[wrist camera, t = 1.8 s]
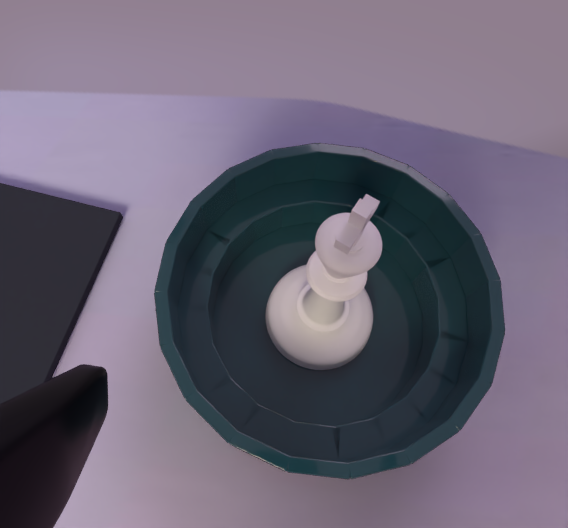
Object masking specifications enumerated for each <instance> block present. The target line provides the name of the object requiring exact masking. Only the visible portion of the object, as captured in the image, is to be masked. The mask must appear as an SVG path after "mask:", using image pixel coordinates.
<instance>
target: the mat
mask: <svg viewBox="0 0 568 528" xmlns="http://www.w3.org/2000/svg"><path fill="white" fill-rule="evenodd" d="M122 218H123V216H122V215H121V213H120V212H116V211H111V210H107V209H103V208H99V207H95V206H91V205H87V204H83V203H79V202H75V201H71V200H67V199H63V198H59V197H54V196H50V195H46V194H42V193H38V192H34V191H30V190H26V189H22V188H18V187H14V186H10V185H6V184H2V183H0V404H1V403H3V402H5V401H7V400H9V399H11V398H13V397H15V396H17V395H19V394H21V393H24V392H26V391H28V390H30V389H32V388H34V387H36V386H38V385H40V384H42V383H44V382H46V381H48V380H50V379H51V377H52V375H53V373H54V370H55V368H56V366H57V364H58V361H59V359H60V357H61V355H62V352H63V350H64V348H65V346H66V343H67V341H68V339H69V337H70V335H71V332H72V330H73V328H74V326H75V323H76V321H77V319H78V317H79V314H80V312H81V310H82V308H83V305H84V303H85V301H86V299H87V297H88V294H89V292H90V290H91V288H92V285H93V283H94V281H95V279H96V276H97V274H98V272H99V270H100V267H101V265H102V263H103V261H104V259H105V256H106V254H107V252H108V250H109V247H110V245H111V243H112V241H113V238H114V236H115V234H116V232H117V229H118V227H119V225H120V223H121V220H122Z"/></svg>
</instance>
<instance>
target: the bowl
mask: <svg viewBox="0 0 568 528" xmlns="http://www.w3.org/2000/svg"><path fill="white" fill-rule="evenodd" d="M366 194H368V195H370V196H371V197H373V198H375V199H377V200H379V201H380V203H379V205H378V207H377V209H376V211H375V212H374V214H373V215H372V217H371V218H370V220H369V221H371V222H372V223H373V224H374V225H375V227H376V228H377V229H378V231H379V233H380V235H381V239H382V252H381V256H380V258H379V260H378V261H377V263H376V264H375V265H374V266H373V267H372V268H371V269H370V270H368V271H367V281H366V284H365V287H364V288H365V290H366V292H367V294H368V296H369V298H370V301H371V304H372V309H373V325H372V330H371V333H370V336H369V339H368V341H367V343H366V345H365V347H364V348H363V350H362V351H361V352H360V353H359V354H358V355H357V356H356V357H355V358H354V359H353V360H352V361H350V362H348V363H347V364H345V365H343V366H340V367H338V368H334V369H329V370H313V369H308V368H304V367H301V366H299V365H297V364H295V363H293V362H291V361H290V360H288V359H287V358H286V357H284V356H283V355H282V354H281V353H280V352H279V351H278V349H277V348H276V347H275V345H274V344H273V342H272V340H271V338H270V336H269V333H268V330H267V326H266V318H265V314H266V306H267V302H268V299H269V296H270V294H271V292H272V291H273V289H274V287H275V285H276V284H277V283H278V281H279V280H280V279H281V278H282V277H283V276H284V275H286V274H287V273H288V272H290V271H291V270H293V269H295V268H297V267H300V266H303V265H307V263H308V260H309V258H310V257H311V255H312V254H313V253H314V252H315V251H316V248H315V237H316V233H317V231H318V229H319V227H320V225H321V224H322V223H323V222H324V221H325V220H326V219H328V218H329V217H331V216H333V215H336V214H339V213H351V211H352V209H353V208H354V206H355V205H356V203H357V202H358V200H359V199H360V198H361V199H363V198H364V196H365V195H366ZM154 296H155V306H156V315H157V324H158V334H159V343H160V346H161V350H162V352H163V354H164V357H165V359H166V361H167V363H168V365H169V367H170V369H171V371H172V373H173V375H174V378H175V380H176V382H177V384H178V386H179V388H180V390H181V392H182V394H183V397H184V398H185V399H186V401H187V402H188V403H189V404H190V405H191V406H192V407H193V408H194V409H195V410H196V411H197V412H198V413H199V414H200V415H201V416H202V417H203V418H204V419H205V420H206V422H207V423H208V424H209V425H210V426H211V427H212V428H213V429H214V430H215V431H216V432H217V433H218V434H219V435H220V436H221V437H222V438H223V439H224V440H225V441H226V442H227V443H229V444H230V445H232V446H234V447H236V448H238V449H240V450H242V451H244V452H246V453H248V454H250V455H252V456H254V457H256V458H258V459H260V460H262V461H264V462H266V463H269V464H271V465H273V466H275V467H277V468H279V469H281V470H283V471H287V472H289V473H298V474H306V475H315V476H324V477H332V478H341V479H354V478H359V477H363V476H367V475H371V474H375V473H379V472H383V471H387V470H392V469H396V468H400V467H404V466H408V465H410V464H413V463H414V462H416V461H417V460H419V459H420V458H422V457H423V456H424V455H426V454H427V453H429V452H430V451H432V450H433V449H435V448H436V447H438V446H439V445H441V444H442V443H443V442H445V441H446V440H448V439H449V438H451V437H452V436H454V435H455V434H457V433H458V432H459V431H460V430H461V429H462V428H463V426H464V425H465V423H466V422H467V420H468V419H469V417H470V416H471V415H472V413H473V412H474V410H475V409H476V407H477V406H478V404H479V403H480V401H481V400H482V399H483V397H484V396H485V394H486V393H487V391H488V390H489V388H490V387H491V384H492V382H493V378H494V374H495V370H496V366H497V363H498V359H499V355H500V351H501V347H502V343H503V339H504V335H505V324H504V313H503V302H502V291H501V281H500V277H499V275H498V273H497V270H496V268H495V265H494V263H493V261H492V258H491V256H490V254H489V251H488V249H487V246H486V244H485V242H484V239H483V237H482V234H481V233H480V231H479V230H478V229H477V228H476V226H475V225H474V224H473V223H472V221H471V220H470V219H469V218H468V216H467V215H466V214H465V213H464V212H463V210H462V209H461V208H460V207H459V205H458V204H457V203H456V202H455V200H454V199H453V198H452V197H451V196H450V195H449V194H448V193H447V192H446V191H444V190H443V189H442V188H440V187H439V186H437V185H436V184H435V183H433V182H432V181H430V180H429V179H428V178H426V177H425V176H423V175H422V174H421V173H419V172H418V171H417V170H415V169H414V168H412V167H411V166H409V165H407V164H404V163H402V162H399V161H397V160H394V159H391V158H389V157H386V156H384V155H381V154H378V153H376V152H373V151H371V150H368V149H364V148H359V147H350V146H341V145H333V144H324V143H318V144H317V143H313V144H307V145H300V146H293V147H286V148H280V149H273V150H269V151H267V152H265V153H263V154H260V155H258V156H256V157H254V158H251V159H249V160H247V161H245V162H242V163H240V164H238V165H236V166H233V167H231V168H229V169H228V170H226V171H225V172H224V173H223V174H221V175H220V176H219V177H218V178H217V179H216V180H214V181H213V182H212V183H211V184H210V185H209V186H207V187H206V188H205V189H204V190H203V191H202V192H200V193H199V194H198V195H197V196H196V197H195V198H193V200H192V201H191V202H190V204H189V205H188V207H187V208H186V210H185V212H184V213H183V215H182V217H181V218H180V220H179V221H178V223H177V225H176V226H175V228H174V230H173V231H172V233H171V234H170V236H169V238H168V239H167V241H166V243H165V247H164V252H163V256H162V260H161V265H160V269H159V273H158V278H157V282H156V286H155V293H154Z"/></svg>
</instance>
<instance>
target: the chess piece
mask: <svg viewBox="0 0 568 528" xmlns="http://www.w3.org/2000/svg"><path fill="white" fill-rule="evenodd" d="M379 203H380V201H379V200H377V199H375V198H373V197H371V196H370V195H368V194H366V195H365V196H364V198H363V199H361V198H360V199H359V200H358V202H357V203H356V205H355V206H354V208H353V209H352V211H351V213H339V214H336V215H333V216H331V217H329V218H328V219H326V220H325V221H324V222H323V223H322V224H321V225H320V227H319V229H318V231H317V233H316V237H315V248H316V251H315V252H314V253H313V254H312V255H311V257H310V258H309V260H308V263H307V265H303V266H300V267H297V268H295V269H293V270H291V271H290V272H288V273H287V274H286V275H284V276H283V277H282V278H281V279H280V280H279V281H278V283H277V284H276V285H275V287H274V289H273V291H272V292H271V294H270V296H269V299H268V302H267V306H266V314H265V318H266V326H267V330H268V333H269V336H270V338H271V340H272V342H273V344H274V345H275V347H276V348H277V349H278V351H279V352H280V353H281V354H282V355H283V356H284V357H286V358H287V359H288V360H290V361H291V362H293V363H295V364H297V365H299V366H301V367H304V368H308V369H313V370H329V369H334V368H338V367H340V366H343V365H345V364H347V363H348V362H350V361H352V360H353V359H354V358H355V357H356V356H357V355H358V354H359V353H360V352H361V351H362V350H363V348H364V347H365V345H366V343H367V341H368V339H369V336H370V333H371V330H372V325H373V309H372V304H371V301H370V298H369V296H368V294H367V292H366V290H365V288H364V287H365V284H366V281H367V271H368V270H370V269H371V268H372V267H373V266H374V265H375V264H376V263H377V261H378V260H379V258H380V256H381V252H382V239H381V235H380V233H379V231H378V229H377V228H376V227H375V225H374V224H373V223H372V222H371V221H369V220H370V218H371V217H372V215H373V214H374V212H375V211H376V209H377V207H378V205H379Z"/></svg>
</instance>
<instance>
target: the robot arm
mask: <svg viewBox="0 0 568 528" xmlns="http://www.w3.org/2000/svg"><path fill="white" fill-rule="evenodd" d="M107 410H108V381H107V372H106V370H105V369H104V368H103V367H99V366H92V365H85V364H83V365H79V366H77V367H75V368H73V369H71V370H69V371H67V372H65V373H63V374H60V375H58V376H56V377H54V378H52V379H50V380H48V381H46V382H44V383H42V384H40V385H38V386H36V387H34V388H32V389H30V390H28V391H26V392H24V393H21V394H19V395H17V396H15V397H13V398H11V399H9V400H7V401H5V402H3V403H1V404H0V528H53V527H54V525H55V524H56V522H57V520H58V518H59V517H60V515H61V513H62V511H63V509H64V507H65V506H66V504H67V502H68V500H69V498H70V496H71V494H72V491H73V489H74V487H75V485H76V483H77V480H78V478H79V476H80V474H81V471H82V469H83V467H84V465H85V462H86V460H87V458H88V456H89V454H90V451H91V449H92V447H93V445H94V442H95V440H96V438H97V436H98V433H99V431H100V429H101V427H102V424H103V422H104V420H105V417H106V414H107Z"/></svg>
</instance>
